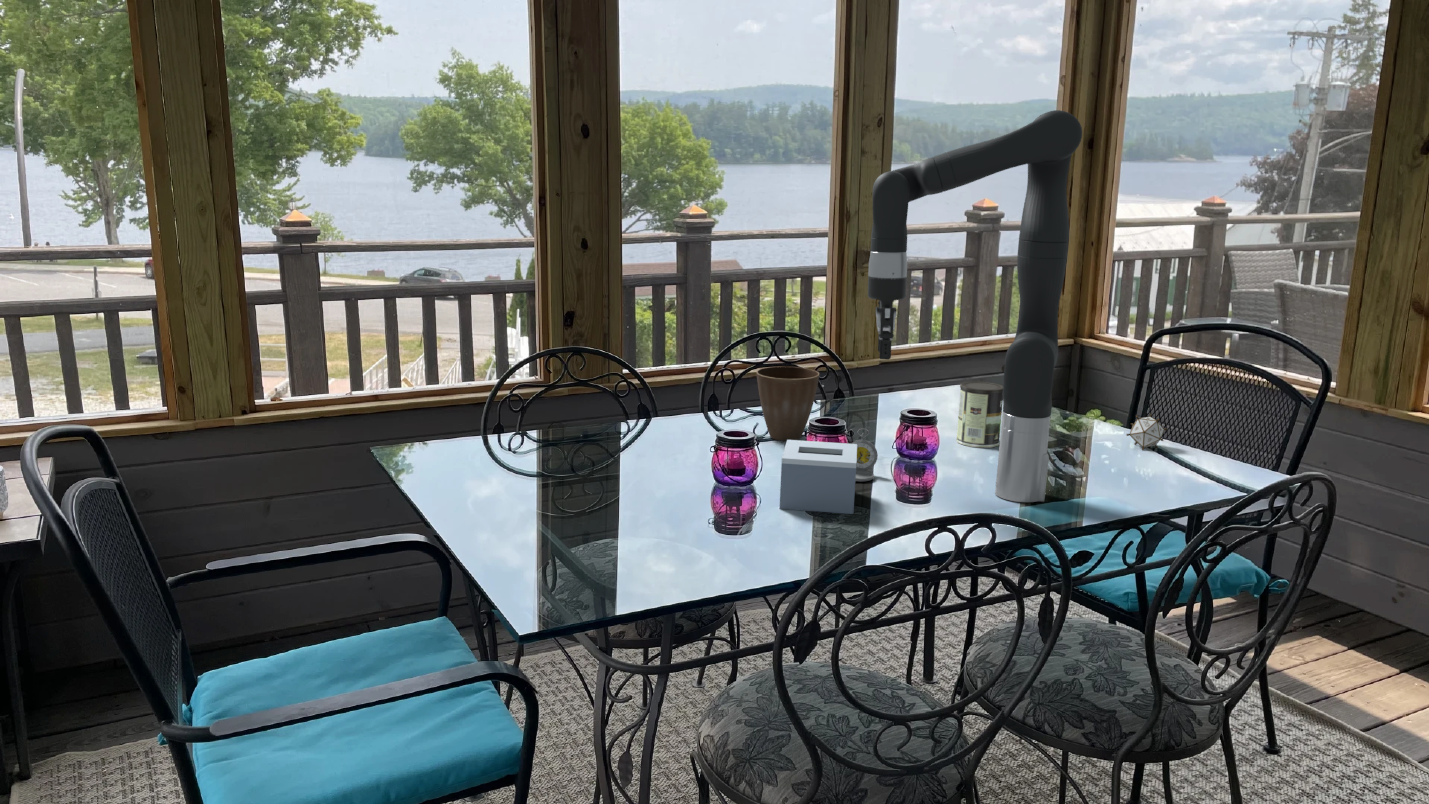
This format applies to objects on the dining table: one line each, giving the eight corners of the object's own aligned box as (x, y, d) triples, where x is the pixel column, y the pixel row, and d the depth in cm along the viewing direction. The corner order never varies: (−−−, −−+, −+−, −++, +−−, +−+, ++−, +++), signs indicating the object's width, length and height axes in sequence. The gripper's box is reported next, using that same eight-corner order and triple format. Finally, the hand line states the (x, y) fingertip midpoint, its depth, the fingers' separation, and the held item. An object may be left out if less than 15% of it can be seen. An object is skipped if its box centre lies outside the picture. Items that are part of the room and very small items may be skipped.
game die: (1151, 464, 254) (1177, 438, 247) (1119, 451, 254) (1144, 424, 247) (1148, 438, 261) (1173, 412, 254) (1117, 425, 260) (1141, 399, 253)
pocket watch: (849, 483, 219) (851, 437, 217) (834, 472, 227) (836, 427, 224) (885, 481, 221) (888, 435, 219) (869, 470, 229) (872, 425, 227)
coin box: (854, 491, 213) (857, 444, 211) (853, 514, 200) (856, 463, 198) (784, 487, 215) (787, 439, 213) (779, 508, 202) (781, 458, 199)
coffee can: (993, 437, 260) (998, 381, 257) (1004, 448, 250) (1009, 390, 247) (951, 436, 260) (956, 380, 257) (960, 447, 250) (965, 389, 247)
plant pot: (794, 449, 244) (797, 381, 241) (741, 437, 253) (744, 372, 249) (827, 437, 256) (831, 372, 252) (776, 426, 264) (779, 363, 261)
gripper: (909, 278, 201) (905, 362, 205) (904, 271, 215) (901, 350, 219) (869, 277, 202) (866, 361, 206) (867, 271, 216) (864, 349, 220)
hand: (884, 355), depth 212 cm, fingers open, 8 cm apart
